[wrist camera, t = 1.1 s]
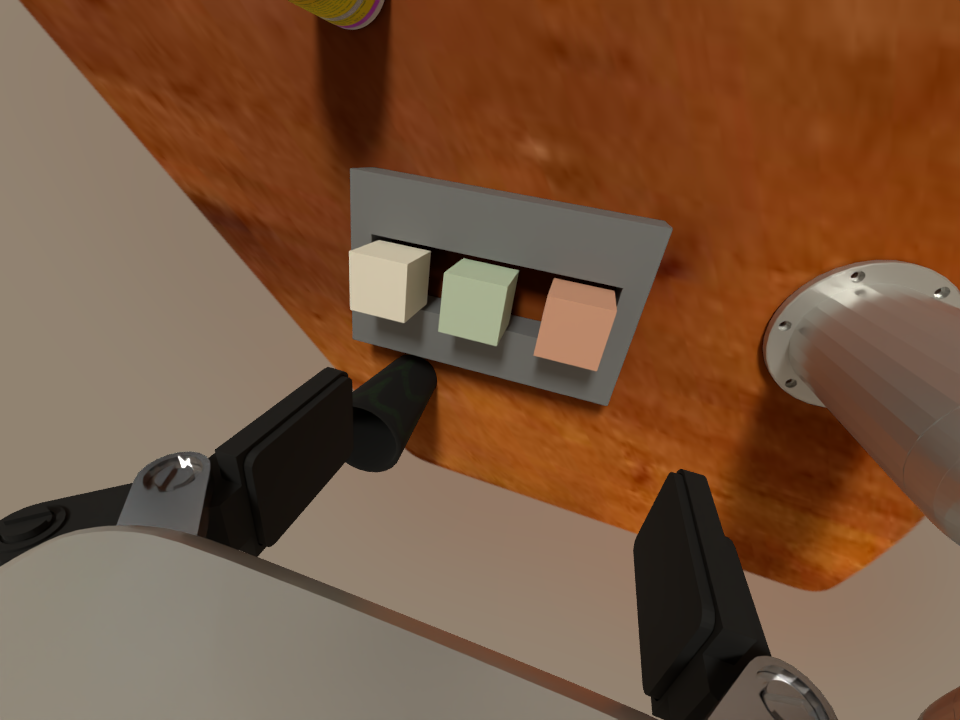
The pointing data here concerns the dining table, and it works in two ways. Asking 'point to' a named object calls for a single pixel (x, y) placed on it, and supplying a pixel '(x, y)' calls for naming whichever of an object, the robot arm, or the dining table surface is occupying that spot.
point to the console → (514, 240)
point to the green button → (477, 300)
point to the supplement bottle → (343, 11)
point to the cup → (389, 412)
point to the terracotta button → (576, 324)
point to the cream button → (389, 280)
